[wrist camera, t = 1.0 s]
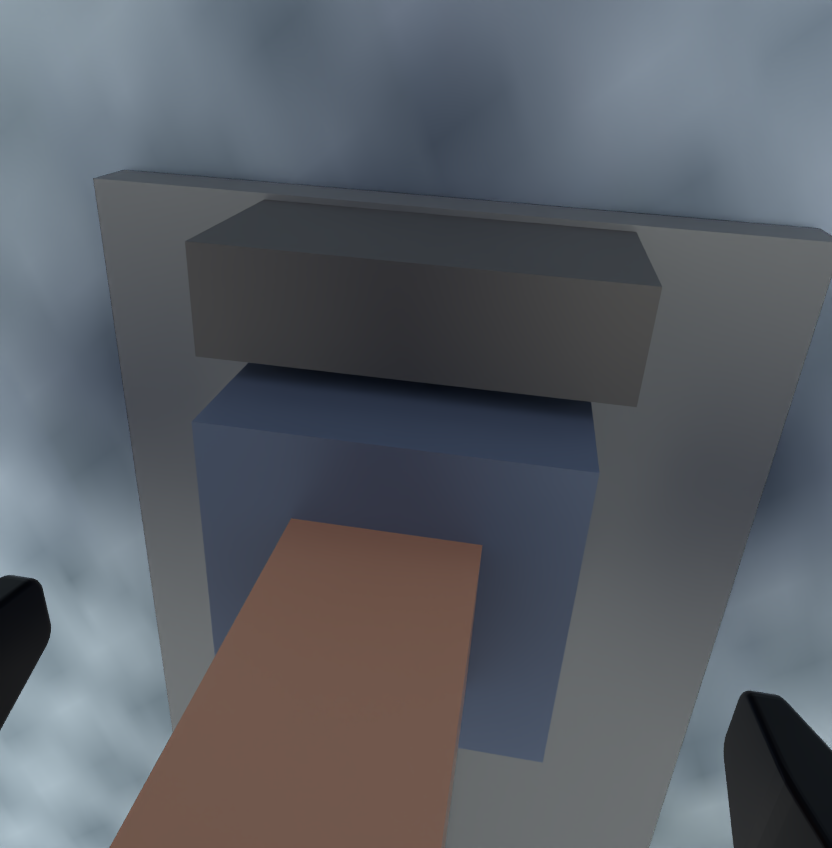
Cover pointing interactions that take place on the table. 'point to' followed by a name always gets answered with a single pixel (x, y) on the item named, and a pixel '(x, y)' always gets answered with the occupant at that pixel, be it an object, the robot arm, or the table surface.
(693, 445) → the traveler track
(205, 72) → the table surface
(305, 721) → the traveler car
